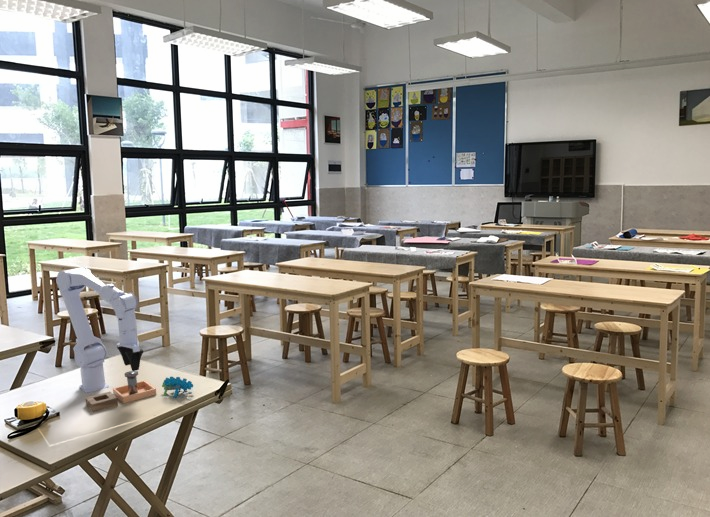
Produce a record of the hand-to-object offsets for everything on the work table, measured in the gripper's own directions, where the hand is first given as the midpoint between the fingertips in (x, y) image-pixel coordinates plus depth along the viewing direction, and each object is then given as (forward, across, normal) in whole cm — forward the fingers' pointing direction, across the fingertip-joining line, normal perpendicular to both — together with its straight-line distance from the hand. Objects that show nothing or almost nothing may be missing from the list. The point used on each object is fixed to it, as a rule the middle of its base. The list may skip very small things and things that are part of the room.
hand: (131, 367), depth 209 cm
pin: (+10, 0, 0) cm, 10 cm away
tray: (+10, 0, 0) cm, 10 cm away
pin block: (+10, +2, -12) cm, 16 cm away
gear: (+10, +10, +12) cm, 18 cm away
